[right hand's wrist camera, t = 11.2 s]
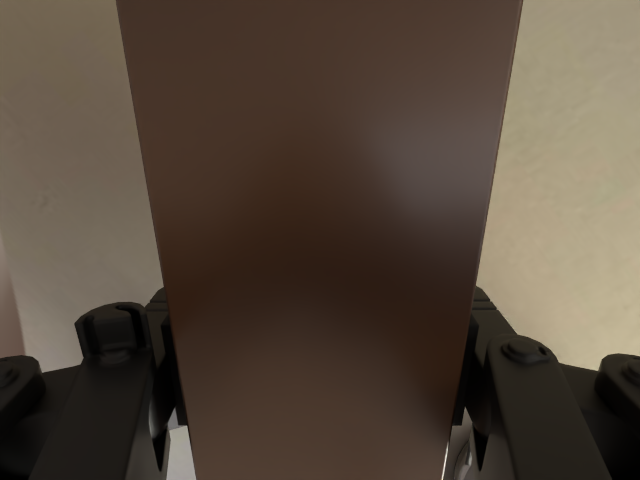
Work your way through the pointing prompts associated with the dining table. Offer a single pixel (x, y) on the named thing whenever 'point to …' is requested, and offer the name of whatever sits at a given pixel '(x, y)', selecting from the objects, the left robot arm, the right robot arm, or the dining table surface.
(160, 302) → the right robot arm
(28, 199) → the dining table surface
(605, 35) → the dining table surface
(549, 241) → the dining table surface
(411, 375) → the bar
